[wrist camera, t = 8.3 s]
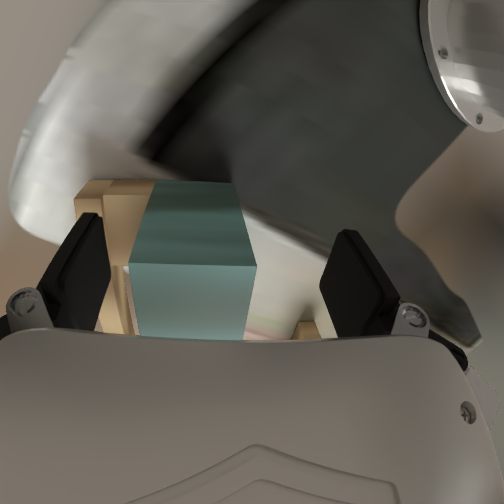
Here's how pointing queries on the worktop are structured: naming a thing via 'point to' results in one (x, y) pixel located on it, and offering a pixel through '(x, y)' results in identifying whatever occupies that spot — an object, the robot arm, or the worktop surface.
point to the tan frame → (174, 257)
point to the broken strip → (306, 331)
